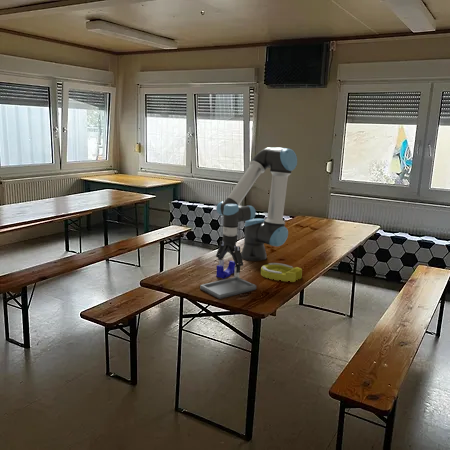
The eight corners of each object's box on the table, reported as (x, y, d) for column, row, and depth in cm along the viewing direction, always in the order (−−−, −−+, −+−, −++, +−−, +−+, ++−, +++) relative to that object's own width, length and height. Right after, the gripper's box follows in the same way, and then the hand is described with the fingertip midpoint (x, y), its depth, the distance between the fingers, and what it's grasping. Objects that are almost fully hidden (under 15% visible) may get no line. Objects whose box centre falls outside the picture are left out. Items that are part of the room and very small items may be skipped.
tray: (236, 280, 228) (236, 276, 227) (256, 289, 216) (256, 285, 216) (200, 289, 215) (200, 285, 214) (219, 299, 203) (219, 294, 203)
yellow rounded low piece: (290, 284, 225) (291, 275, 224) (255, 275, 237) (255, 266, 236) (305, 276, 239) (305, 267, 237) (270, 268, 250) (271, 259, 249)
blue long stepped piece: (223, 278, 230) (223, 267, 229) (216, 276, 233) (216, 265, 232) (237, 273, 239) (237, 262, 238) (230, 271, 242) (230, 260, 241)
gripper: (210, 230, 238) (209, 269, 243) (240, 240, 219) (238, 282, 224) (221, 228, 242) (220, 267, 247) (251, 238, 224) (249, 280, 228)
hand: (228, 274), depth 236 cm, fingers open, 12 cm apart
